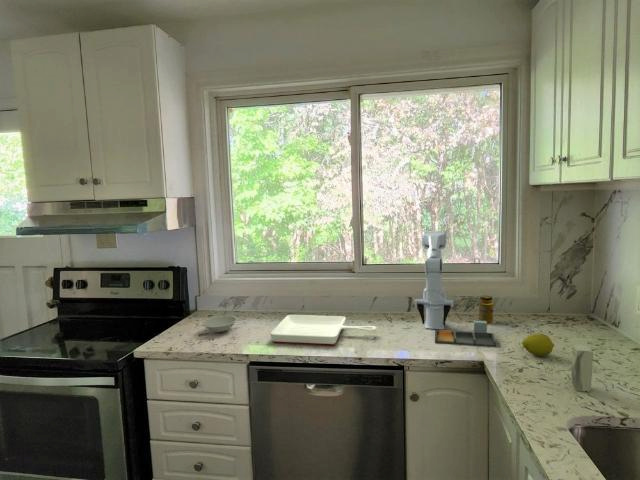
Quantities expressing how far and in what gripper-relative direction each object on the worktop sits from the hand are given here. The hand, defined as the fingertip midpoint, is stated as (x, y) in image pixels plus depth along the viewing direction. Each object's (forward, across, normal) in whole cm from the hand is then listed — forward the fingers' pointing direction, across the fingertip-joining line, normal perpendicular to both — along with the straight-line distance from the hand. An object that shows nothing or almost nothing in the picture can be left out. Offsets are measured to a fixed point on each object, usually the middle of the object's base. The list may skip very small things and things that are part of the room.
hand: (433, 323), depth 162 cm
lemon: (+10, +37, +1) cm, 38 cm away
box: (+10, +44, -24) cm, 51 cm away
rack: (+10, +12, +12) cm, 20 cm away
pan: (+11, -45, +7) cm, 47 cm away
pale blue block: (+10, +18, +23) cm, 31 cm away
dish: (+10, -94, +2) cm, 95 cm away
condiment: (+10, +21, +39) cm, 46 cm away
